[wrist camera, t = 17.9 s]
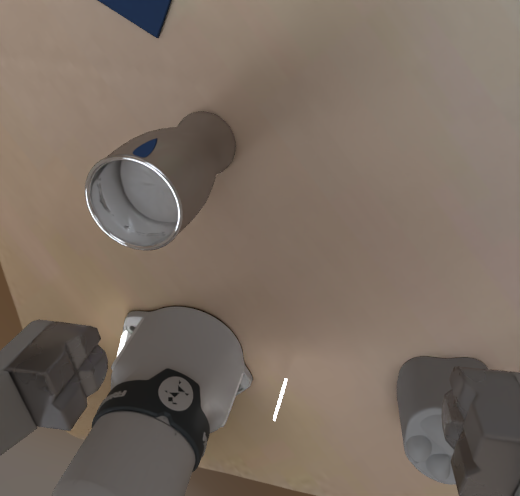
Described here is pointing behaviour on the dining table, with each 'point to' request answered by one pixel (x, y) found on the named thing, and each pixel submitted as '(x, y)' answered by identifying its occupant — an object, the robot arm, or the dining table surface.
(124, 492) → the robot arm
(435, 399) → the lumpy-topped squat cylinder
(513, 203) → the dining table surface
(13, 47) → the dining table surface
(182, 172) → the beer glass
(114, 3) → the mat
